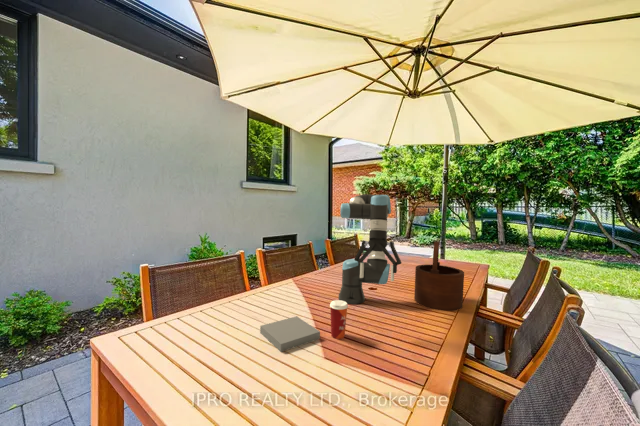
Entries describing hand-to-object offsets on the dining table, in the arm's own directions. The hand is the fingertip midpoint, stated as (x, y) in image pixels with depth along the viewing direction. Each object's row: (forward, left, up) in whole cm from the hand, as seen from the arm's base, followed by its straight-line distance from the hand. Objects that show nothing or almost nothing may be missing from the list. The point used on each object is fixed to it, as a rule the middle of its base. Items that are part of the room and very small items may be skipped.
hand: (376, 279), depth 119 cm
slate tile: (-17, -32, -23) cm, 43 cm away
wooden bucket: (-5, +60, -24) cm, 64 cm away
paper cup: (-6, -15, -23) cm, 29 cm away
